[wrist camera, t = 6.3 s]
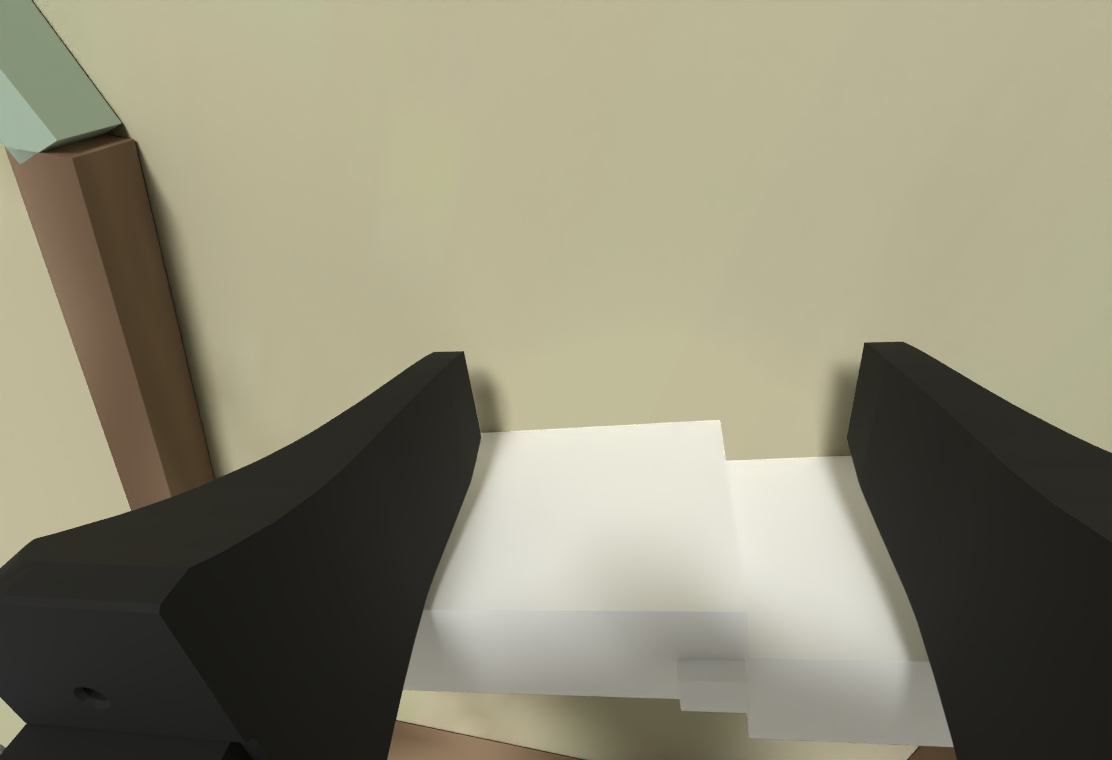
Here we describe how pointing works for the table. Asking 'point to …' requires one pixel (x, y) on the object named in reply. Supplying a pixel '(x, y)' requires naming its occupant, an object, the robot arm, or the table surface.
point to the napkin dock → (133, 296)
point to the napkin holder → (678, 586)
